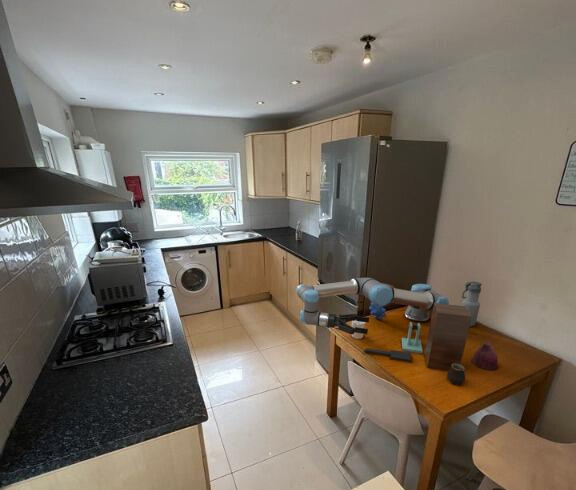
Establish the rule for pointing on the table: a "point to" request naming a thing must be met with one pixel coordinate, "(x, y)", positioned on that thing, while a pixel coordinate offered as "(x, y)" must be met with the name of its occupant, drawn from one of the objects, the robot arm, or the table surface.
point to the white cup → (359, 325)
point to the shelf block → (447, 336)
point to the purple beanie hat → (485, 357)
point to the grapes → (377, 311)
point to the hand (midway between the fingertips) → (368, 325)
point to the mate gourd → (456, 374)
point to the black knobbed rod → (414, 327)
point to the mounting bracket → (412, 341)
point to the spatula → (391, 354)
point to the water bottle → (472, 300)
